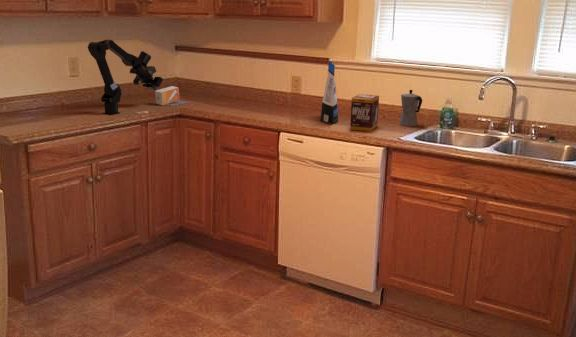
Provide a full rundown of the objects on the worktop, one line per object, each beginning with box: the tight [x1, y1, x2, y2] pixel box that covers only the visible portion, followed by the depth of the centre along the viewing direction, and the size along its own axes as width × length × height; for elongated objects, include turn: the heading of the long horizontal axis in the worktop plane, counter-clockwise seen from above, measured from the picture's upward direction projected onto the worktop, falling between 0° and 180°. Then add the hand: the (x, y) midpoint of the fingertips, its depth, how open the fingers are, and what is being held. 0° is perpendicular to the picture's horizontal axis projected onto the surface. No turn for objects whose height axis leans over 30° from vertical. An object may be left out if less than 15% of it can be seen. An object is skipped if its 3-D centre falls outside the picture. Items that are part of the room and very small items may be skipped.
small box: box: [154, 85, 181, 106], centre depth 354 cm, size 8×6×13 cm
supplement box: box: [349, 93, 380, 132], centre depth 296 cm, size 10×15×16 cm
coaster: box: [134, 110, 148, 115], centre depth 326 cm, size 7×7×1 cm
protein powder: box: [320, 60, 339, 125], centre depth 311 cm, size 10×24×30 cm, turn 3°
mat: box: [148, 100, 190, 107], centre depth 360 cm, size 16×18×1 cm
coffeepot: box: [398, 89, 423, 127], centre depth 304 cm, size 15×9×18 cm, turn 28°
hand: (155, 90), depth 348 cm, fingers closed
